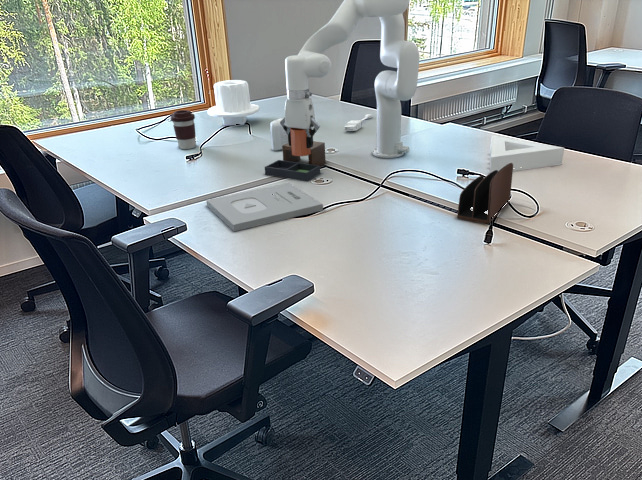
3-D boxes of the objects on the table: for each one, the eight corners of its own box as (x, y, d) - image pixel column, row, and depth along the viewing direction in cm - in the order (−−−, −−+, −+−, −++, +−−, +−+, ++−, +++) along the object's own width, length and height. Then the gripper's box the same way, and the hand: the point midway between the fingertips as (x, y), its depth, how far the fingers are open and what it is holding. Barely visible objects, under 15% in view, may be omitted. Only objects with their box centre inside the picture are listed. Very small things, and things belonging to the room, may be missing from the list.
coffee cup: (171, 149, 250) (164, 113, 242) (184, 143, 258) (178, 108, 250) (190, 151, 247) (184, 115, 239) (203, 144, 254) (198, 109, 247)
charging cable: (374, 119, 289) (374, 112, 288) (353, 132, 263) (353, 125, 261) (364, 118, 291) (364, 111, 289) (343, 132, 264) (343, 124, 263)
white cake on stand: (257, 128, 276) (253, 87, 267) (205, 130, 277) (199, 88, 267) (263, 116, 298) (260, 77, 288) (215, 117, 298) (209, 78, 289)
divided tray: (320, 173, 216) (320, 165, 214) (307, 181, 209) (306, 173, 207) (279, 167, 224) (278, 159, 222) (265, 174, 217) (264, 166, 215)
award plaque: (323, 210, 184) (322, 203, 183) (234, 231, 172) (233, 224, 171) (289, 188, 203) (288, 182, 202) (207, 206, 191) (206, 199, 190)
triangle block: (561, 164, 217) (564, 147, 213) (528, 183, 200) (530, 165, 197) (489, 150, 235) (491, 134, 231) (454, 166, 218) (455, 149, 215)
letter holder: (509, 203, 185) (515, 159, 178) (488, 225, 171) (493, 178, 164) (479, 197, 190) (483, 155, 183) (456, 218, 175) (460, 173, 168)
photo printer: (291, 145, 250) (289, 115, 244) (296, 147, 247) (294, 117, 241) (270, 149, 245) (267, 119, 239) (275, 151, 242) (272, 121, 236)
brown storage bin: (325, 163, 227) (324, 142, 223) (312, 170, 219) (311, 149, 215) (297, 159, 233) (296, 139, 228) (283, 166, 225) (282, 145, 221)
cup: (314, 151, 211) (313, 126, 207) (304, 157, 206) (302, 131, 202) (298, 149, 214) (297, 125, 210) (287, 154, 209) (286, 129, 204)
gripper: (325, 94, 199) (327, 146, 208) (283, 90, 206) (286, 141, 215) (314, 98, 193) (316, 151, 202) (270, 94, 201) (274, 146, 210)
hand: (300, 145), depth 209 cm, fingers closed on cup, 6 cm apart
